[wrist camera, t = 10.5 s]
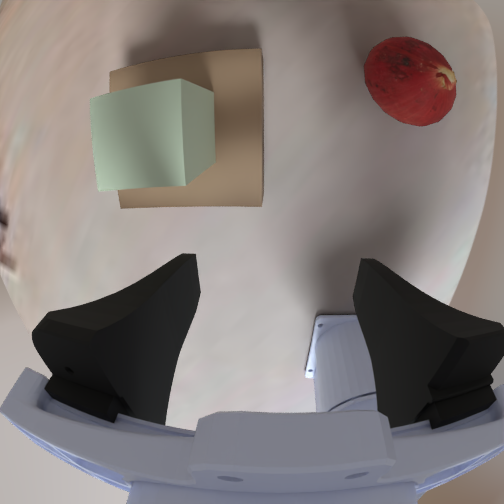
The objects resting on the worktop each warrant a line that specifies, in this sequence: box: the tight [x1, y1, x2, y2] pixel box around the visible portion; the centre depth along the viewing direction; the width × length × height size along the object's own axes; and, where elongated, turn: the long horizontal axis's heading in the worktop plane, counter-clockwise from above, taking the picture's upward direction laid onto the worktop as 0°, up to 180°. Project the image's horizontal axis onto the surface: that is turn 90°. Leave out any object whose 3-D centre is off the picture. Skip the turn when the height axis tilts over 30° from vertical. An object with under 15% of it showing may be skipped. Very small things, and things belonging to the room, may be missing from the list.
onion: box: [364, 37, 457, 126], centre depth 11 cm, size 6×6×8 cm
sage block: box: [90, 79, 216, 192], centre depth 12 cm, size 4×4×6 cm
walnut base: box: [110, 49, 264, 209], centre depth 16 cm, size 10×10×3 cm
